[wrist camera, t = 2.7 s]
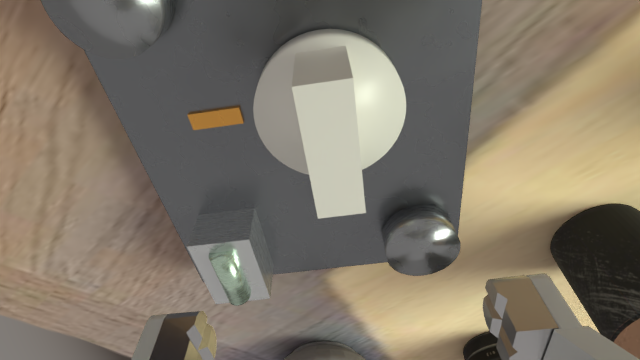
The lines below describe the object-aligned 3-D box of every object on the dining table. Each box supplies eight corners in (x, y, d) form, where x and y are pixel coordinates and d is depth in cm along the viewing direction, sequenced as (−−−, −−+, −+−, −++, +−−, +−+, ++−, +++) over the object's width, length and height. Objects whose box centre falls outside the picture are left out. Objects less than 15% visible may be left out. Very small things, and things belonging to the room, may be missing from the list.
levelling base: (47, -76, 18) (-50, -67, 13) (480, -156, 16) (548, -178, 12) (208, 262, 32) (190, 325, 27) (448, 235, 31) (473, 297, 26)
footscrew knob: (239, 41, 19) (217, 84, 15) (399, 17, 18) (426, 54, 14) (283, 206, 26) (277, 270, 21) (402, 191, 25) (421, 254, 21)
